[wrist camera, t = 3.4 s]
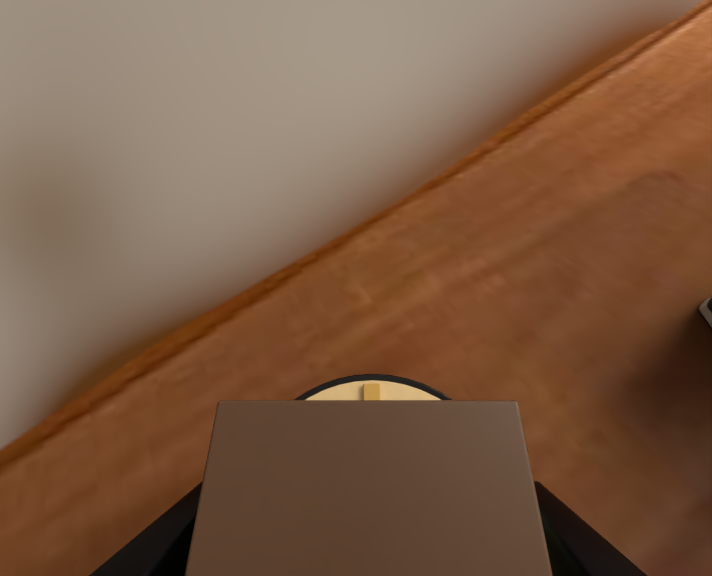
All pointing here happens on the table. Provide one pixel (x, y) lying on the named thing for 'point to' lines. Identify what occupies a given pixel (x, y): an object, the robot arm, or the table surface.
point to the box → (368, 488)
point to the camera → (707, 310)
